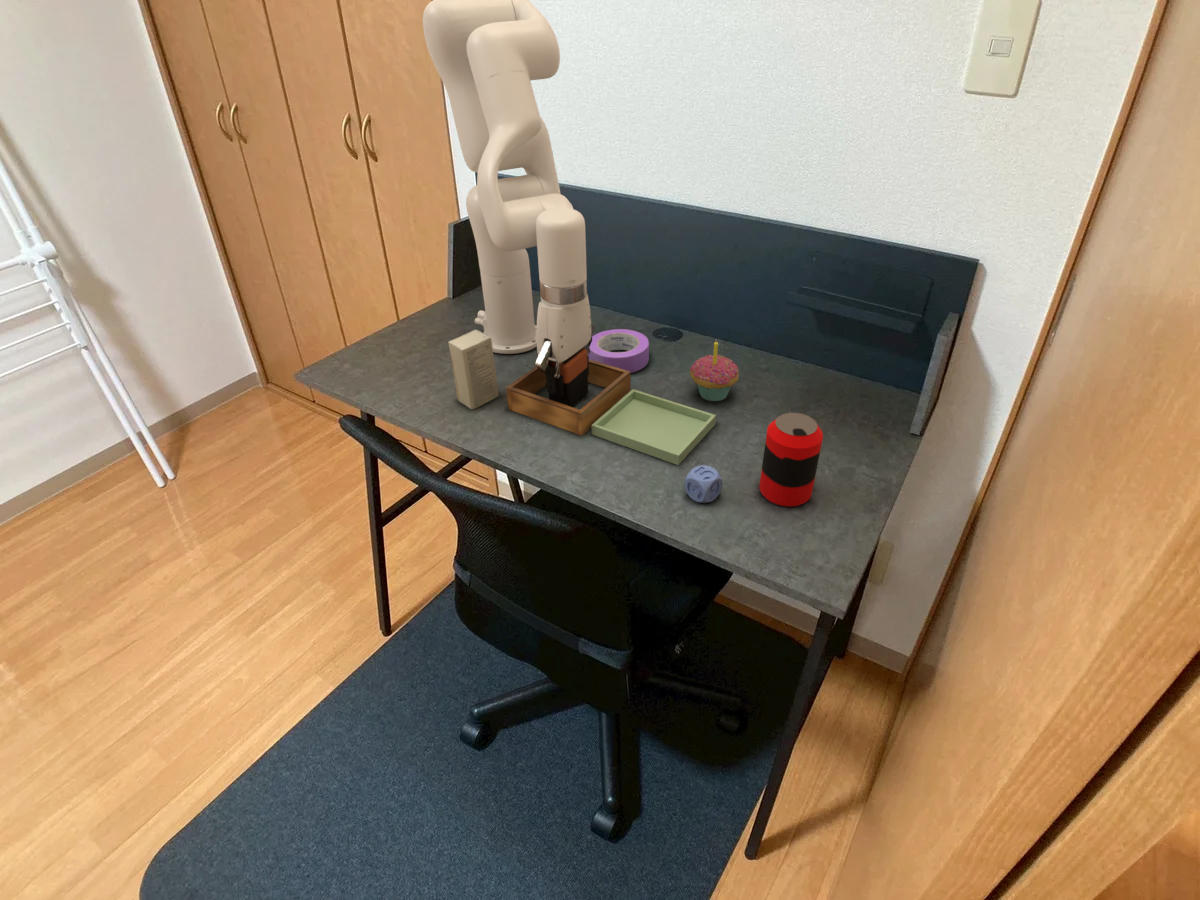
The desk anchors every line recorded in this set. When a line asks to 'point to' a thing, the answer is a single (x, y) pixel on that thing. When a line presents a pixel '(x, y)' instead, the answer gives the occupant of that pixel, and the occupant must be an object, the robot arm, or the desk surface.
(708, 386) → the cupcake
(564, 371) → the battery
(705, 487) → the decorative dice
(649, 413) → the tray
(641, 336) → the tape roll
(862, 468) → the desk surface
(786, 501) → the soda can
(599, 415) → the wooden frame
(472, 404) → the cosmetic box
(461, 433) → the desk surface
